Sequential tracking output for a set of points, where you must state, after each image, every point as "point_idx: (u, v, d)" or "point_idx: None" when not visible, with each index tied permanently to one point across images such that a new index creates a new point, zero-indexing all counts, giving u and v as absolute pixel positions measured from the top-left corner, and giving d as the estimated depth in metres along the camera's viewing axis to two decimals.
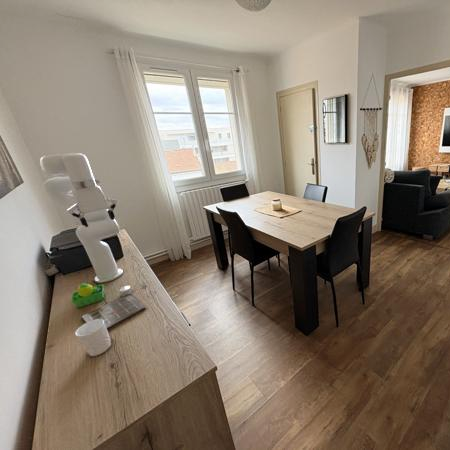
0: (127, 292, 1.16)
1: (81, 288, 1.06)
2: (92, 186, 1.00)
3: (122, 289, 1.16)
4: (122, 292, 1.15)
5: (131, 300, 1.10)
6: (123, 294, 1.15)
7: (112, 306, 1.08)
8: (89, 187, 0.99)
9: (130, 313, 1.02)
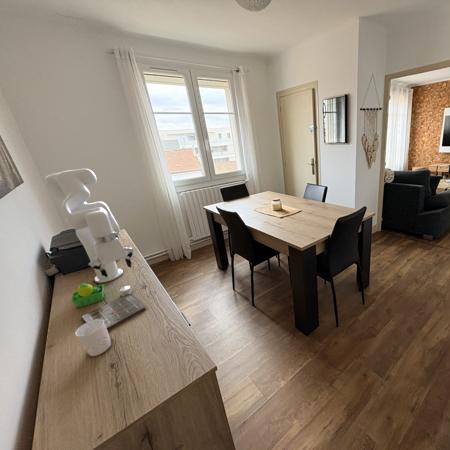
0: (127, 292, 1.16)
1: (81, 288, 1.06)
2: (112, 240, 1.06)
3: (122, 289, 1.16)
4: (122, 292, 1.15)
5: (131, 300, 1.10)
6: (123, 294, 1.15)
7: (112, 306, 1.08)
8: (109, 241, 1.05)
9: (130, 313, 1.02)
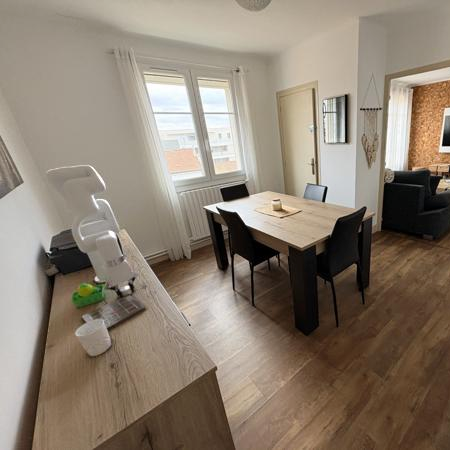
0: (127, 292, 1.16)
1: (81, 288, 1.06)
2: (120, 262, 1.10)
3: (122, 289, 1.16)
4: (122, 292, 1.15)
5: (131, 300, 1.10)
6: (123, 294, 1.15)
7: (112, 306, 1.08)
8: (118, 264, 1.09)
9: (130, 313, 1.02)
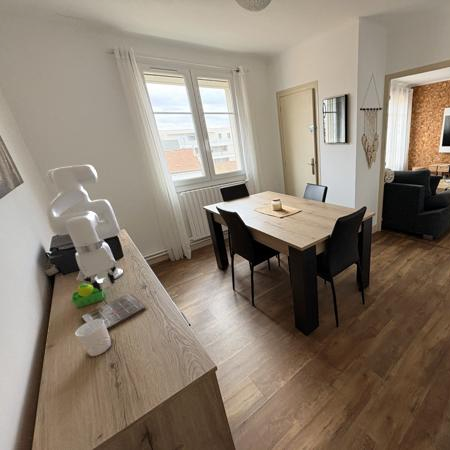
0: (106, 284, 0.99)
1: (81, 288, 1.06)
2: (97, 249, 0.94)
3: (100, 281, 0.99)
4: (100, 284, 0.98)
5: (131, 300, 1.10)
6: (101, 286, 0.99)
7: (112, 306, 1.08)
8: (93, 250, 0.93)
9: (130, 313, 1.02)
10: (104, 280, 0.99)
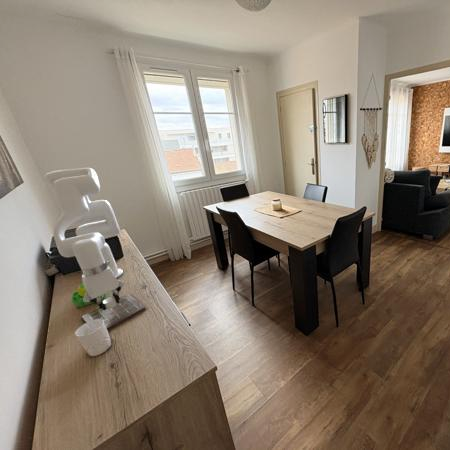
0: (111, 304, 1.01)
1: (81, 288, 1.06)
2: (102, 271, 0.95)
3: (105, 301, 1.01)
4: (105, 304, 1.00)
5: (131, 300, 1.10)
6: (106, 307, 1.00)
7: None
8: (99, 272, 0.94)
9: (130, 313, 1.02)
10: (109, 300, 1.01)
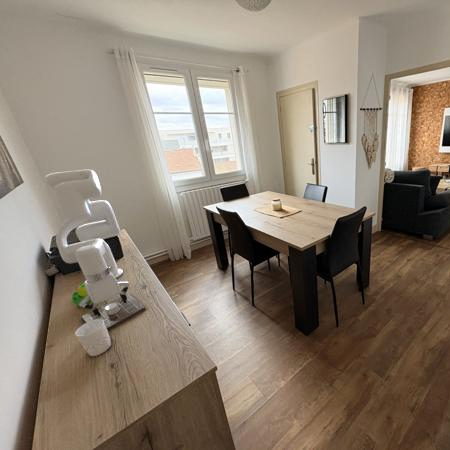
0: (114, 310, 1.02)
1: (81, 288, 1.06)
2: (105, 277, 0.96)
3: (108, 307, 1.02)
4: (108, 310, 1.01)
5: (131, 300, 1.10)
6: (109, 313, 1.01)
7: None
8: (102, 278, 0.95)
9: (130, 313, 1.02)
10: (112, 306, 1.02)
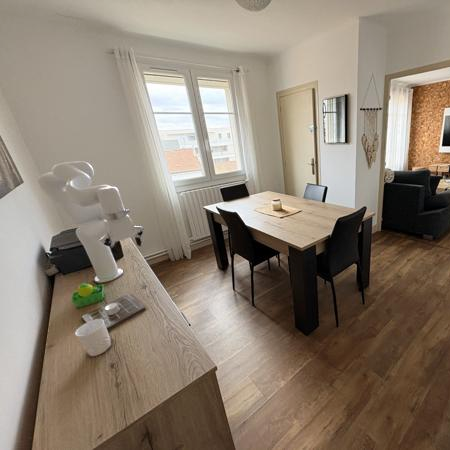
0: (114, 310, 1.02)
1: (81, 288, 1.06)
2: (123, 217, 1.05)
3: (108, 307, 1.02)
4: (108, 310, 1.01)
5: (131, 300, 1.10)
6: (109, 313, 1.01)
7: None
8: (120, 218, 1.04)
9: (130, 313, 1.02)
10: (112, 306, 1.02)
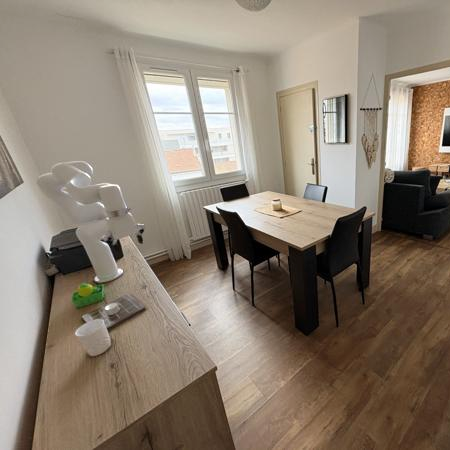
0: (114, 310, 1.02)
1: (81, 288, 1.06)
2: (124, 214, 1.06)
3: (108, 307, 1.02)
4: (108, 310, 1.01)
5: (131, 300, 1.10)
6: (109, 313, 1.01)
7: None
8: (122, 215, 1.05)
9: (130, 313, 1.02)
10: (112, 306, 1.02)
